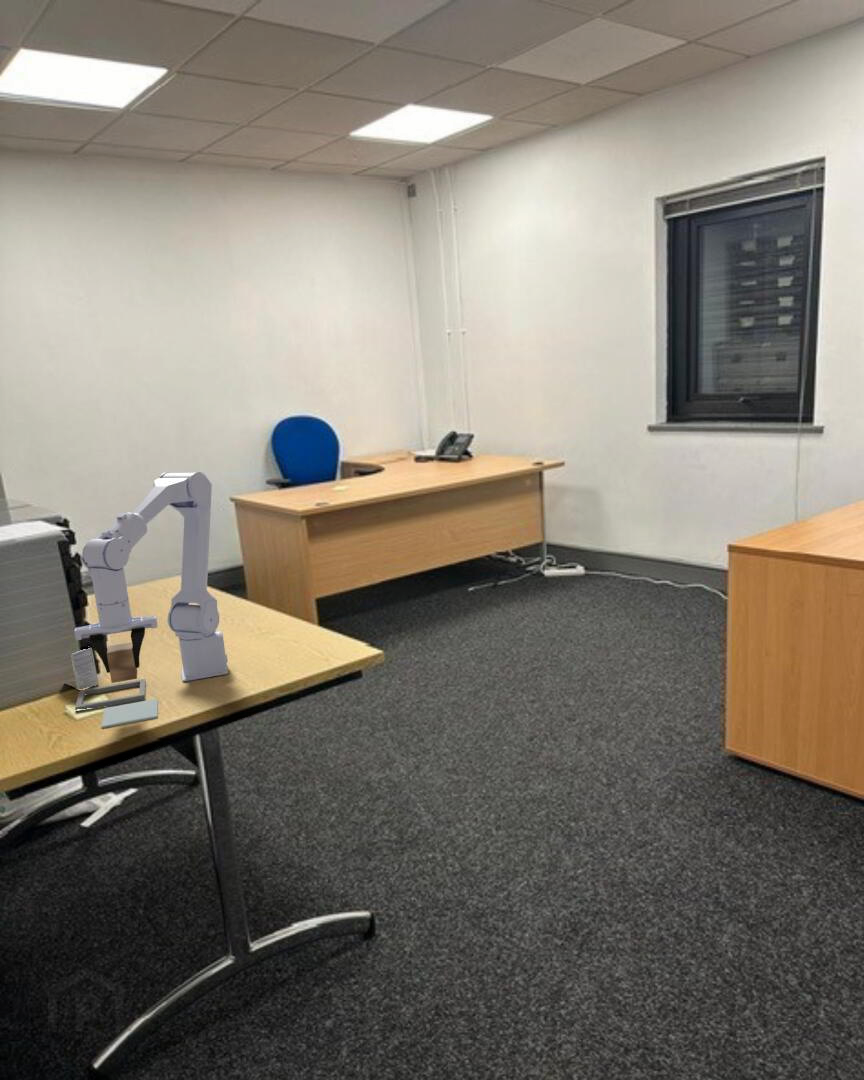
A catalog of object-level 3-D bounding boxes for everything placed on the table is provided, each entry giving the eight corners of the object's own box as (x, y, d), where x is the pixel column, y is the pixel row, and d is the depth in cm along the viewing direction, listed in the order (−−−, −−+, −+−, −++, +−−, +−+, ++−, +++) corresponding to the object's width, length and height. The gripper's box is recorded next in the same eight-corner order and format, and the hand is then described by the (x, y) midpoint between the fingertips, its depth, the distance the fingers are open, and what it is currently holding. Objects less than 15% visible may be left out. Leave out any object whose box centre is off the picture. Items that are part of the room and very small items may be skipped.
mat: (157, 700, 158) (157, 698, 158) (157, 717, 150) (157, 715, 149) (105, 710, 155) (104, 708, 155) (101, 728, 147) (101, 726, 146)
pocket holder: (146, 683, 168) (145, 678, 167) (145, 699, 159) (144, 694, 159) (80, 694, 164) (79, 690, 163) (76, 712, 155) (75, 707, 155)
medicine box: (99, 685, 168) (92, 647, 167) (78, 692, 165) (72, 653, 163) (83, 677, 174) (76, 640, 172) (62, 684, 170) (56, 647, 169)
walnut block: (137, 670, 153) (132, 642, 152) (136, 678, 149) (132, 649, 148) (113, 675, 152) (108, 645, 151) (111, 683, 148) (106, 653, 147)
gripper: (68, 612, 141) (80, 682, 144) (152, 600, 146) (162, 668, 149) (72, 602, 148) (84, 669, 151) (153, 591, 152) (162, 656, 155)
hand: (123, 668), depth 150 cm, fingers closed on walnut block, 4 cm apart
